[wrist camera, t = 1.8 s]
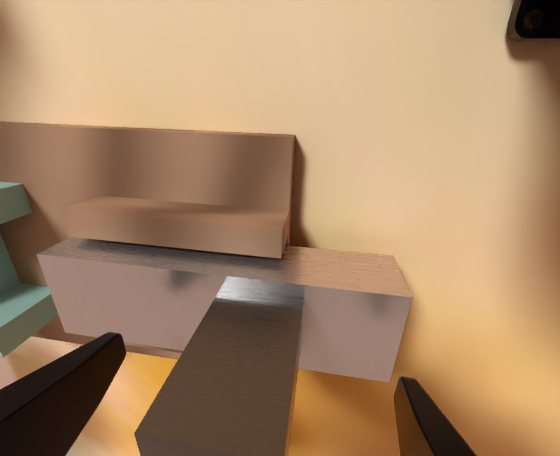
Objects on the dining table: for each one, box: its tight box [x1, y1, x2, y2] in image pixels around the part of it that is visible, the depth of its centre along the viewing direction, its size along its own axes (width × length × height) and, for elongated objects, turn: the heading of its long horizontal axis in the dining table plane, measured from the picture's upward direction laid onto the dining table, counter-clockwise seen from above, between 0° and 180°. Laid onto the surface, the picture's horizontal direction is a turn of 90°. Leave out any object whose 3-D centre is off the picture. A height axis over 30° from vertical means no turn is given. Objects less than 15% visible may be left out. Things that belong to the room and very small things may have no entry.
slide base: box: [0, 122, 295, 359], centre depth 14 cm, size 17×13×3 cm
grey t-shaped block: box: [37, 237, 413, 456], centre depth 10 cm, size 14×4×8 cm, turn 88°
